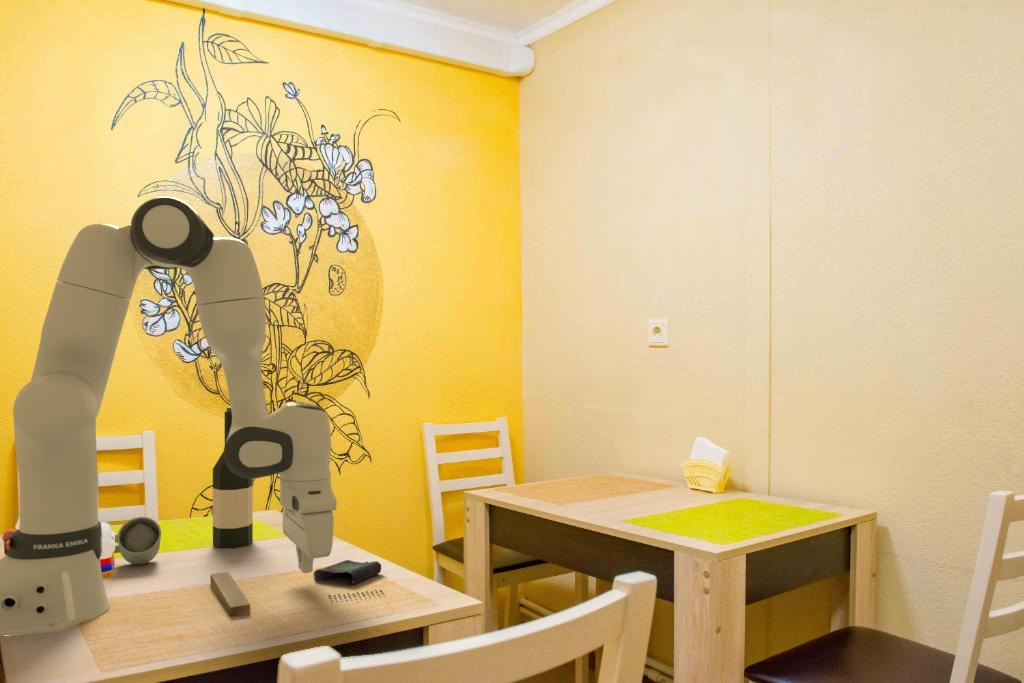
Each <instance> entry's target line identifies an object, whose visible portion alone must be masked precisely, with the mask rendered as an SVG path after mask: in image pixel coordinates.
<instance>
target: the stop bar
mask: <svg viewBox="0 0 1024 683" xmlns="http://www.w3.org/2000/svg"><path fill="white" fill-rule="evenodd" d="M210 587H211V589H212V590H213V592H214V594H215V595H216V597H217V598H218V600H219V601H220V603H221V605H222V606H223V608H224V609H225V611H226V612H227V614H228V616H229V617H230V618H234V617H241V616H247V615H250V614H251V603H250V602H249V601H248V598H247V597H246V596H245V595H244V593H243V591H242V590H241V589H240V587H239V585H238V584H237V583H236V581H235V580H234V579H233V577H232V575H231V573H230V572H229V571H224V572H223V571H221V572H217V573H210Z"/></svg>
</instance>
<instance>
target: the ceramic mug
mask: <svg viewBox="0 0 1024 683" xmlns="http://www.w3.org/2000/svg"><path fill="white" fill-rule="evenodd" d="M114 535H115V543H116V544H118V545H115V546H116V547H115V551H114V553H113V554H119V553H120V555H121V556H122V558H123V560H125V561H126V562H127V563H128V564H131V565H137V566H138V565H144V564H147V563H149V562H151V561H153V559H154V558H155V557H156V556H157V555H158V553H159V550H160V547H161V539H162V538H161V537H162V529H161V526H160V524H159V523H158V522H157V521H156V520H154V519H153V518H152V517H151V518H150V517H147V516H138V517H133V518H131V519H128V521H126V522H125V523H123V525H122V526H121V527H120V528H119V530H118V532H117V534H114ZM115 543H114V544H115Z"/></svg>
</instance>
